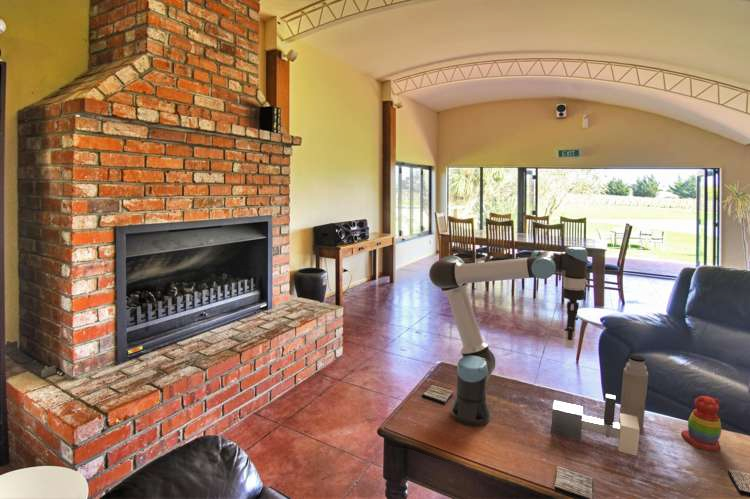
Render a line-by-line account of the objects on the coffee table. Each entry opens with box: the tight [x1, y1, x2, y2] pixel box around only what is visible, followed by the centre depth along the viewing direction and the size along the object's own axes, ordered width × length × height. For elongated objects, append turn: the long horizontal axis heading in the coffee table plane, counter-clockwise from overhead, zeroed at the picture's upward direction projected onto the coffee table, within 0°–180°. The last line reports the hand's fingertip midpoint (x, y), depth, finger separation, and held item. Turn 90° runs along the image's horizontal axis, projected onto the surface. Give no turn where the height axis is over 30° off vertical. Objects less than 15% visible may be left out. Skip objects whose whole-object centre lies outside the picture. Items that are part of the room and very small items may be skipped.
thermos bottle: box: [619, 354, 649, 432], centre depth 159 cm, size 8×8×28 cm
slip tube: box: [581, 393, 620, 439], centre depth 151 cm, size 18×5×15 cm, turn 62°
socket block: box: [616, 412, 641, 456], centre depth 147 cm, size 6×9×10 cm, turn 152°
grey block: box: [550, 399, 584, 441], centre depth 156 cm, size 10×7×10 cm
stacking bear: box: [680, 395, 722, 452], centre depth 149 cm, size 11×10×18 cm
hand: (570, 341), depth 160 cm, fingers open, 13 cm apart
